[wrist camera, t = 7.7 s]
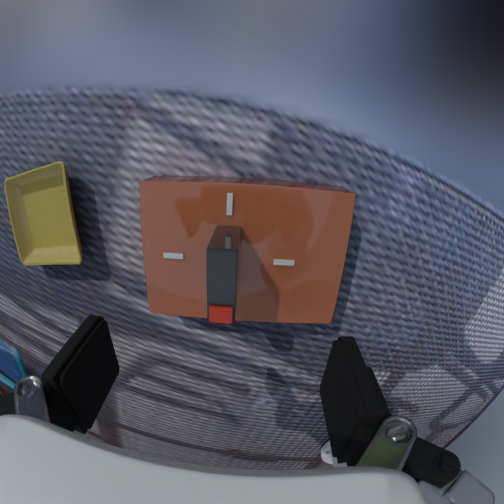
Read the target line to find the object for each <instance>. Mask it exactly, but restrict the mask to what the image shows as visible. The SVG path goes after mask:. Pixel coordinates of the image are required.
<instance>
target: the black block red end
mask: <svg viewBox="0 0 504 504" xmlns="http://www.w3.org/2000/svg"><path fill="white" fill-rule="evenodd" d="M241 231H242V227H239V226H222V225H217V226H216V228H215V230H214V233H213V235H212V237H211V239H210V242H209V244H208V246H207V321H208V322H214V323H227V324H235V318H236V309H237V299H238V290H239V269H240V249H241Z"/></svg>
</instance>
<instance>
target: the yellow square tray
mask: <svg viewBox="0 0 504 504" xmlns="http://www.w3.org/2000/svg"><path fill="white" fill-rule="evenodd" d="M4 186H5V194H6V200H7V205H8V211H9V216H10V221H11V225H12V229H13V234H14V238H15V242H16V246H17V249H18V253H19V257H20V260H21V262H22V263H23V264H24V265H66V264H69V265H70V264H74V265H75V264H77V265H78V264H80V263H81V262H82V247H81V243H80V239H79V234H78V229H77V225H76V220H75V215H74V210H73V204H72V199H71V192H70V186H69V179H68V172H67V169H66V166H65V164H64V163H63V162H61V161H59V162H55V163H52V164H48V165H45V166H42V167H39V168H36V169H33V170H30V171H27V172H24V173H21V174H18V175H15V176H13V177H10V178H7V179H6V180H5V183H4Z"/></svg>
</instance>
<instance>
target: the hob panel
mask: <svg viewBox="0 0 504 504" xmlns="http://www.w3.org/2000/svg"><path fill="white" fill-rule="evenodd" d="M355 199H356V194H355V193H353V192H351V191H349V190H348V189H346V188H344V187H342V186H333V185H324V184H315V183H305V182H294V181H282V180H268V179H253V178H234V177H208V176H154V177H151V178H148V179H146V180H143V181H141V182H140V211H141V229H142V242H143V254H144V265H145V274H146V283H147V291H148V298H149V306H150V312H151V313H157V314H166V315H176V316H186V317H197V318H207V246H208V244H209V242H210V239H211V237H212V235H213V233H214V230H215V228H216V226H217V225H222V226H239V227H242V231H241V249H240V269H239V290H238V299H237V309H236V318H235V320H236V321H253V322H275V323H314V324H331V322H332V318H333V314H334V310H335V305H336V301H337V297H338V292H339V288H340V283H341V279H342V274H343V269H344V264H345V259H346V254H347V248H348V243H349V237H350V231H351V225H352V219H353V213H354V206H355Z"/></svg>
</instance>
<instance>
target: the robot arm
mask: <svg viewBox="0 0 504 504" xmlns="http://www.w3.org/2000/svg"><path fill="white" fill-rule="evenodd" d="M118 374H119V364H118V361H117V357H116V354H115V351H114V347H113V343H112V340H111V336H110V332H109V328H108V324H107V322H106V321H105V320H104V318H103V317H101V316H96V315H89V316H88V317H87V318H86V319H85V321H84V322H83V323H82V324H81V325H80V327H79V328H78V329H77V330H76V331H75V333H74V334H73V335H72V336H71V337H70V339H69V340H68V341H67V342H66V344H65V345H64V346H63V347H62V349H61V350H60V351H59V352H58V354H57V355H56V356H55V358H54V359H53V360H52V361H51V363H50V364H49V365H48V367H47V368H46V369H45V371H44V372H43V373H42V376H43V377H42V379H41V380H40V379H39V378H38V377H36V376H32V375H30V376H25V377H22V378H21V379H19V380H18V382H17V383H16V384H15V386H14V393H11V394H7V395H4V396H0V504H494V501H495V497H494V493H493V492H492V491H491V490H490V489H489V488H488V487H486V486H485V485H484V484H483V483H481V482H480V481H479V480H478V479H476V478H475V477H474V476H473V475H472V474H470V473H469V472H468V471H467V470H464V471H462V470H461V469H460V468H461V466H460V461H459V459H458V457H457V456H456V455H455V454H454V453H452V452H450V451H448V450H445V449H443V448H441V447H439V446H436V445H434V444H432V443H430V442H428V441H425V440H423V439H421V438H419V437H417V429H416V426H415V424H414V423H413V422H412V421H411V420H410V419H408V418H406V417H404V416H397V415H394V416H391V414H390V411H389V409H388V406H387V404H386V401H385V399H384V396H383V394H382V392H381V389H380V387H379V384H378V382H377V380H376V377H375V375H374V373H373V370H372V369H371V368H370V367H366V364H365V362H364V360H363V357H362V355H361V353H360V350H359V348H358V346H357V343H356V341H355V339H354V337H352V336H350V337H339V338H338V340H334V342H333V345H332V348H331V352H330V355H329V359H328V362H327V365H326V369H325V372H324V375H323V378H322V381H321V384H320V396H321V400H322V405H323V410H324V415H325V420H326V425H327V430H328V436H329V441H328V442H327V443H326V444H325V445H324V446H323V447H322V449H321V458H322V460H323V461H324V462H326V463H329V464H333V467H334V468H319V469H299V470H254V469H236V468H224V467H214V466H205V465H198V464H191V463H184V462H179V461H173V460H168V459H163V458H158V457H153V456H149V455H145V454H141V453H137V452H133V451H129V450H125V449H122V448H118V447H115V446H112V445H108V444H105V443H102V442H99V441H96V440H93V439H91V438H88V437H85V436H82V435H79V434H77V433H74V432H73V431H74V430H75V431H78V432H80V433H83V434H85V433H86V431H87V429H90V428H91V427H92V425H93V423H94V421H95V419H96V417H97V415H98V413H99V411H100V409H101V407H102V405H103V403H104V401H105V399H106V397H107V395H108V393H109V391H110V389H111V387H112V385H113V383H114V381H115V379H116V378H117V376H118Z"/></svg>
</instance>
